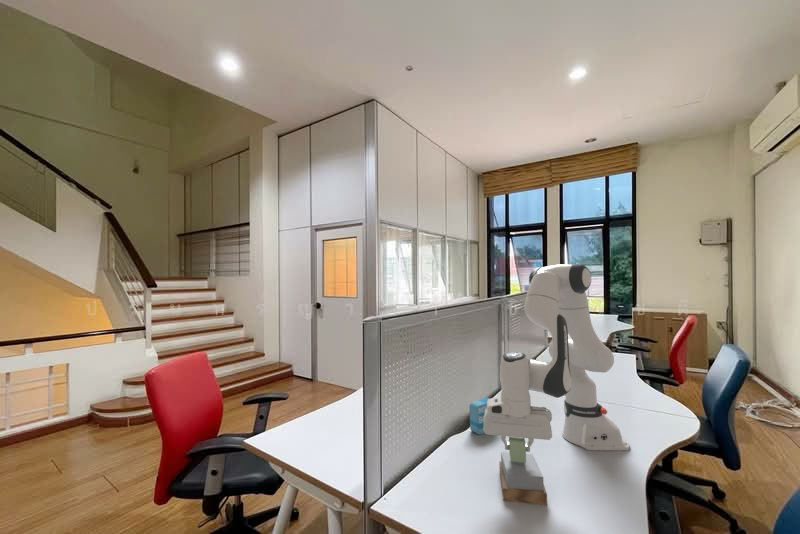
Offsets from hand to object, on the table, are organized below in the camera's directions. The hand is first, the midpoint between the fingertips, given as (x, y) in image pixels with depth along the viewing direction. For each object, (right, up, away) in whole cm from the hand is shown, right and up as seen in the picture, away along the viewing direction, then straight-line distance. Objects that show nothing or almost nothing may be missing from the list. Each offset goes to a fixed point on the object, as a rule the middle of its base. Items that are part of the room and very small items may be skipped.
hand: (517, 449), depth 101 cm
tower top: (+1, -8, -1) cm, 8 cm away
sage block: (0, -2, 0) cm, 2 cm away
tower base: (+1, -12, -1) cm, 12 cm away
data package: (-1, -13, +37) cm, 39 cm away
